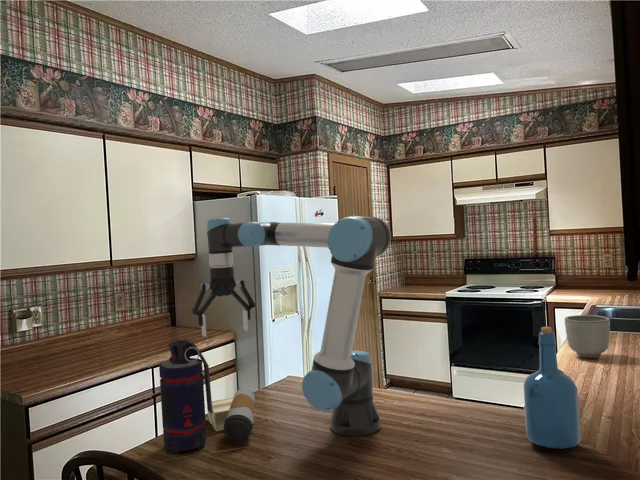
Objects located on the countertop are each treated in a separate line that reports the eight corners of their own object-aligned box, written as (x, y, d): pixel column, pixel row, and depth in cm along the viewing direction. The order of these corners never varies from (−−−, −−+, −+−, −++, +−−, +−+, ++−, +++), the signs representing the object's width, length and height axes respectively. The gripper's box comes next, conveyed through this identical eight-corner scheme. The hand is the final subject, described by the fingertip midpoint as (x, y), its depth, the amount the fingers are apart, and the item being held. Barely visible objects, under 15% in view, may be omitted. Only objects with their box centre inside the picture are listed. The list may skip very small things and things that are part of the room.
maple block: (254, 424, 162) (252, 405, 162) (216, 432, 157) (215, 412, 157) (243, 413, 173) (242, 395, 173) (208, 420, 168) (207, 402, 168)
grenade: (168, 458, 139) (162, 348, 139) (160, 444, 150) (154, 341, 149) (218, 446, 145) (212, 340, 145) (207, 433, 156) (201, 334, 156)
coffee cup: (235, 407, 163) (226, 444, 149) (228, 387, 160) (219, 422, 146) (261, 404, 162) (254, 440, 149) (254, 383, 159) (247, 418, 145)
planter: (573, 360, 214) (571, 322, 214) (561, 351, 231) (559, 315, 231) (618, 359, 211) (616, 320, 211) (602, 350, 228) (600, 314, 228)
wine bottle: (578, 454, 127) (571, 333, 127) (521, 445, 134) (515, 330, 134) (583, 434, 139) (577, 323, 139) (531, 427, 146) (525, 322, 146)
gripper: (255, 263, 173) (259, 326, 173) (179, 269, 162) (183, 336, 162) (262, 264, 166) (266, 329, 166) (184, 270, 156) (188, 340, 156)
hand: (225, 333), depth 164 cm, fingers open, 13 cm apart
